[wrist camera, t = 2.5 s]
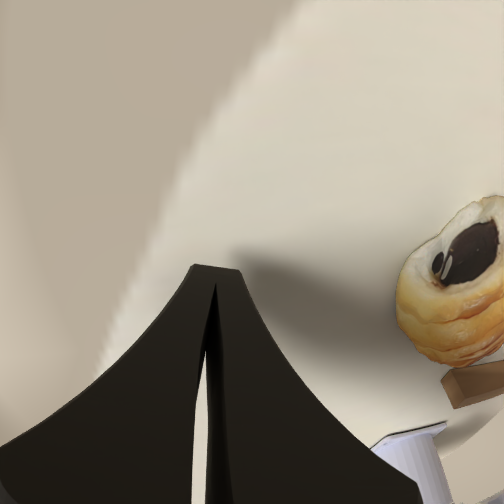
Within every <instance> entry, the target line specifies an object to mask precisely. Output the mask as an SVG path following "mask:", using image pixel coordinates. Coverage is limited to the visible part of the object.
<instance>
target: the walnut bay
mask: <svg viewBox="0 0 504 504" xmlns="http://www.w3.org/2000/svg"><path fill="white" fill-rule="evenodd" d="M441 383H442V385H443V387H444V389H445V391H446V393H447V396H448V398H449V400H450V402H451V404H452V406H453V409H458V408H461V407H465V406H468V405H471V404H475V403H478V402H481V401H484V400H487V399H490V398H493V397H495V396H498V395H501V394H504V360H502V361H498V362H493V363H488V364H483V365H477V366H471V367H465V368H459V369H452V370H450V371H449V372H448V373H447V374H446V375H445V377H444V378H443V379H442V380H441Z"/></svg>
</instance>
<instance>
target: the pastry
mask: <svg viewBox="0 0 504 504" xmlns="http://www.w3.org/2000/svg"><path fill="white" fill-rule="evenodd" d="M396 318H397V323H398V325H399V327H400V329H401V330H403V331H404V332H405V333H406V335H407V336H408V337H409V338H410V340H411V341H412V342H413V343H414V345H415V347H416V349H417V350H418V352H419V353H422V354H424V355H425V356H427V357H428V358H429V359H430V360H431V361H434V362H438V363H440V364H447V365H449V366H452V367H454V368H459V367H461V368H465V367H467V366H469V365H471V364H473V363H474V362H476V361H478V360H480V359H482V358H483V357H485V356H489V355H491V354H493V353H494V352H496V351H497V350H498V349H499V348H500V347H501V345H502V344H503V343H504V197H503V196H493V197H489V198H486V197H483V198H482V199H481V200H480V201H478V202H476V201H473V202H471V203H470V204H469V205H467V206H466V207H464V208H463V209H462V210H460V211H459V212H458V213H457V215H456V216H455V217H454V218H453V219H452V220H451V221H450V222H449V223H448V224H447V225H446V226H445V228H444V229H443V230H442V231H441V232H440V233H439V234H438V235H437V237H435V238H434V239H432V240H430V241H428V242H427V243H425V244H424V245H423V246H421V247H420V248H419V249H417V250H416V251H414V252H413V253H412V254H411V255H410V256H409V257H408V259H407V260H406V262H405V264H404V266H403V268H402V270H401V272H400V275H399V279H398V283H397V288H396Z"/></svg>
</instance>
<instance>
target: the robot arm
mask: <svg viewBox="0 0 504 504" xmlns="http://www.w3.org/2000/svg"><path fill="white" fill-rule="evenodd" d="M205 352H206V380H207V406H208V443H207V466H206V492H205V504H450V503H452V502H453V500H452V496H451V493H450V489H449V486H448V483H447V480H446V477H445V473H444V470H443V467H442V464H441V461H440V458H439V455H438V452H437V450H436V447H435V444H434V441H433V439H432V438H434V437H435V436H436V435H437V434H439V433H440V432H441V431H442V430H443V429H445V428H446V427H447V423H442V424H439V425H435V426H431V427H427V428H423V429H419V430H415V431H411V432H406V433H401V434H396V435H391V436H388V437H386V438H384V439H383V440H381V441H380V442H379V443H378V444H377V445H375V446H374V447H373V448H372V449H369V448H368V447H367V446H365V445H364V444H363V443H362V442H361V441H360V440H358V439H357V438H356V437H355V436H354V435H353V434H352V433H351V432H350V431H349V430H348V429H347V428H345V427H344V426H343V425H342V424H341V423H340V422H339V421H338V420H337V419H336V418H335V417H334V416H333V415H332V414H331V413H330V412H329V411H328V410H327V409H326V408H325V407H324V405H323V404H322V403H321V402H320V401H319V400H318V399H317V398H316V396H315V395H314V394H313V393H312V392H311V391H310V389H309V388H308V387H307V386H306V385H305V383H304V382H303V381H302V379H301V378H300V377H299V376H298V374H297V373H296V372H295V370H294V369H293V368H292V366H291V365H290V363H289V362H288V361H287V359H286V358H285V356H284V355H283V353H282V352H281V350H280V349H279V347H278V345H277V344H276V342H275V341H274V339H273V337H272V336H271V334H270V332H269V331H268V329H267V327H266V325H265V323H264V322H263V320H262V318H261V316H260V314H259V312H258V310H257V308H256V306H255V304H254V302H253V300H252V298H251V296H250V294H249V291H248V289H247V287H246V284H245V282H244V279H243V276H242V274H241V272H240V271H239V270H236V269H228V268H221V267H214V266H207V265H200V264H194V265H192V266H190V268H189V271H188V273H187V274H186V276H185V278H184V280H183V281H182V283H181V285H180V286H179V288H178V289H177V291H176V292H175V294H174V295H173V296H172V298H171V299H170V300H169V302H168V303H167V304H166V306H165V307H164V308H163V310H162V311H161V312H160V314H159V315H158V316H157V317H156V319H155V320H154V321H153V322H152V323H151V324H150V326H149V327H148V328H147V329H146V330H145V332H144V333H143V334H142V335H141V336H140V337H139V338H138V340H137V341H136V342H135V343H134V344H133V345H132V346H131V347H130V348H129V349H128V350H127V351H126V352H125V353H124V354H123V355H122V356H121V357H120V358H119V359H118V360H117V361H116V362H115V363H114V364H113V365H112V366H111V367H110V368H109V369H107V370H106V371H105V372H104V373H103V374H102V375H101V376H100V377H99V378H98V379H96V380H95V381H94V382H93V383H92V384H91V385H90V386H88V387H87V388H86V389H85V390H84V391H82V392H81V393H80V394H79V395H77V396H76V397H75V398H73V399H72V400H71V401H69V402H68V403H67V404H65V405H64V406H63V407H62V408H60V409H59V410H57V411H56V412H55V413H53V414H52V415H51V416H49V417H48V418H46V419H45V420H43V421H42V422H40V423H39V424H38V425H36V426H34V427H33V428H31V429H29V430H28V431H26V432H24V433H23V434H21V435H19V436H18V437H16V438H14V439H13V440H11V441H10V442H8V443H6V444H4V445H2V446H1V447H0V504H191V498H192V465H193V443H194V424H195V409H196V401H197V395H198V389H199V384H200V379H201V373H202V368H203V363H204V357H205ZM452 504H455V503H452ZM460 504H463V503H460ZM476 504H504V489H503V490H502V491H500V492H498V493H496V494H495V495H493V496H491V497H488V498H486V499H484V500H483V501H481V502H479V503H476Z"/></svg>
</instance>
